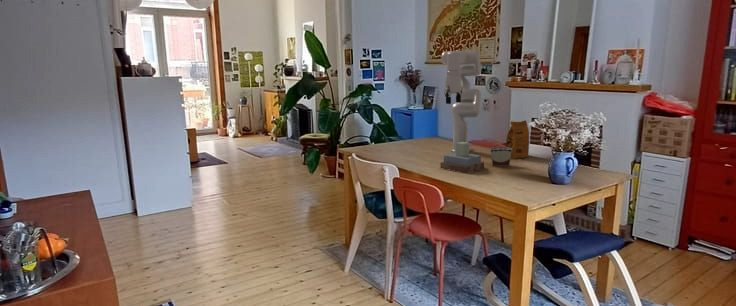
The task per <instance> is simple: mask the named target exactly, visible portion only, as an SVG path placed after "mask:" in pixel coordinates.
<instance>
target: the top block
mask: <svg viewBox="0 0 736 306" xmlns="http://www.w3.org/2000/svg"><path fill="white" fill-rule="evenodd" d="M481 159H482V157H481V155H480V154H473V153H469V155H467V156H464V157H463V156H457V155H456V152H452V153H448V154H444V155H443V162H445V163H451V164H456V165H461V166H467V167H468V166H471V165H475V164H478V163H481V162H482V161H481Z"/></svg>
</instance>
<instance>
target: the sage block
mask: <svg viewBox="0 0 736 306" xmlns="http://www.w3.org/2000/svg"><path fill="white" fill-rule="evenodd" d="M469 143H470V142H468V143H467V142H458V143H456V155H457V156H463V157H464V156H467V155H469V154H470V152H469V149H470V146H469Z"/></svg>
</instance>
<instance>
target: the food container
mask: <svg viewBox="0 0 736 306" xmlns="http://www.w3.org/2000/svg"><path fill="white" fill-rule="evenodd" d="M511 152H513V151H512V148H509V147H506V146H492V147H491V148H490V151H489V153H490V154H491V155H490V156H491V166H492V167H510V165H511V159H512V158H511Z"/></svg>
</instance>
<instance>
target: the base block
mask: <svg viewBox="0 0 736 306" xmlns="http://www.w3.org/2000/svg"><path fill="white" fill-rule="evenodd" d="M439 164H440V166H439V167H440V168H444V169H443V170H446V169H450V170H449V171H451V170H455V171H454V172H456V171H460V172H459V173H462V172H465V173H464V174H469V173H468V172H470V173H473V172H476V171H479V170H482V168H483V169H484V168H485V161H481V163H478V164H475V165H471V166H468V167H467V166H461V165H456V164H451V163H445V162H444V161H442V162H440V163H439ZM440 168H439V169H440ZM475 170H476V171H475ZM472 171H473V172H472Z"/></svg>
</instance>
